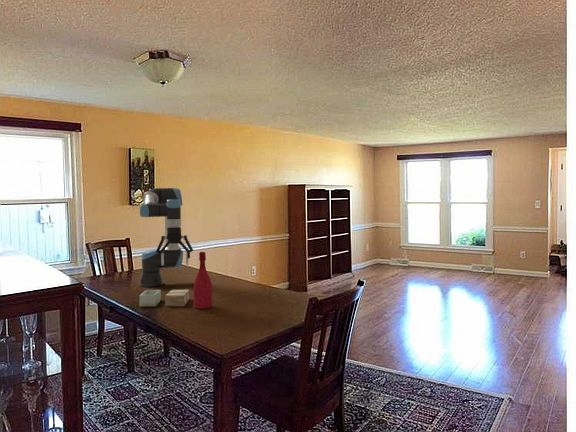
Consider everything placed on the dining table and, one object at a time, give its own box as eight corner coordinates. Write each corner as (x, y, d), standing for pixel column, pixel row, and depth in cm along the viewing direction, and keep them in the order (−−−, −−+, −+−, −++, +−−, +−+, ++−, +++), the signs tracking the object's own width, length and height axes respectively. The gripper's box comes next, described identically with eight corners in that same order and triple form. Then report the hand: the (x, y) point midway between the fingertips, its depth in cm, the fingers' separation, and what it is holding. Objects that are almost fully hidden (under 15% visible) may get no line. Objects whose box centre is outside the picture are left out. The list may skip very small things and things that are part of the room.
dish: (145, 300, 245) (145, 290, 245) (160, 300, 245) (160, 289, 245) (139, 306, 232) (139, 295, 232) (155, 306, 232) (155, 295, 232)
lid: (172, 299, 247) (171, 289, 247) (189, 299, 247) (189, 289, 247) (165, 306, 232) (165, 295, 232) (183, 306, 232) (183, 295, 232)
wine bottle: (216, 306, 232) (215, 251, 230) (203, 310, 223) (203, 253, 221) (202, 303, 237) (201, 250, 235) (189, 308, 228) (188, 252, 226)
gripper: (149, 227, 235) (150, 266, 235) (195, 226, 237) (196, 264, 237) (153, 227, 243) (154, 264, 243) (197, 226, 244) (198, 263, 244)
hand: (174, 264), depth 240 cm, fingers open, 13 cm apart
